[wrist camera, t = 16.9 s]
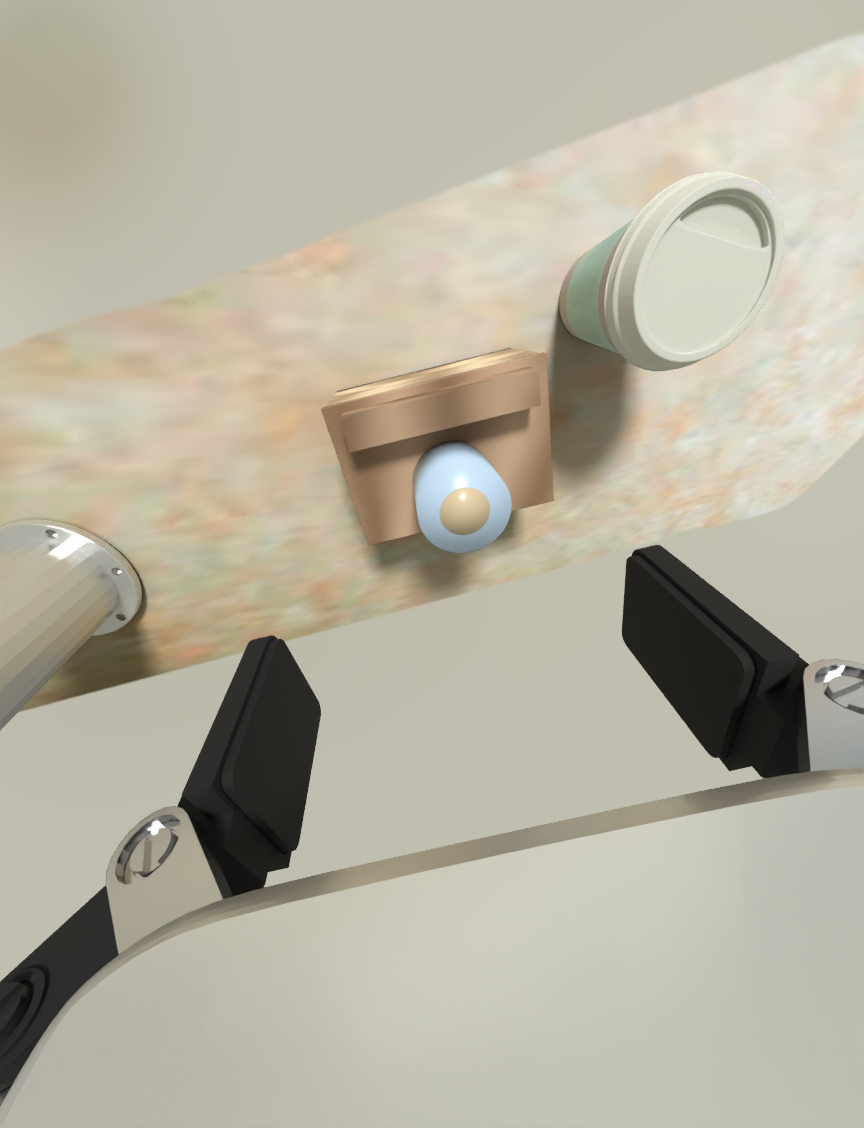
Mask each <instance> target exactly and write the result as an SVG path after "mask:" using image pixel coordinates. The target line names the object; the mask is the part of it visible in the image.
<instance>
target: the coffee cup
mask: <svg viewBox="0 0 864 1128" xmlns="http://www.w3.org/2000/svg"><path fill="white" fill-rule="evenodd" d="M783 247H784V224H783V218H782V214H781V211H780V208H779V205H778V203H777V201H776V199H775V198H774V196H773V194H772V193H771V192H770V191H769V189H768V188H766V187H765V186H764V185H763V184H762V183H760V182H758V181H756V180H754V179H752V178H748V177H745V176H740V175H737V174H734V173H731V172H724V171H715V172H708V173H700V174H696V175H692V176H689V177H686V178H683V179H681V180H679V181H677V182H675V183H673V184H672V185H670V186H668V187H667V188H665V189H664V190H663V191H661V192H660V193H659V194H658V195H656V196H655V197H654V198H653V199H652V200H651V201H650V202H649V203H648V204H647V205H646V206H645V207H644V208H643V209H642V210H641V211H640V213H639V214H638V215H637V216H636V218H634V219H633V220H632V221H630V222H629V223H627V224H626V225H625V226H623V227H622V228H620V229H619V230H618V231H616V232H615V233H613V234H612V235H611V236H609V237H608V238H606V239H605V240H604V241H602V242H601V243H599V244H598V245H597V246H595V247H594V248H593V249H591V250H590V251H588V252H587V253H586V254H584V255H583V256H582V257H581V258H579V259H578V260H577V261H576V262H575V264H574V265H573V266H572V267H571V269H570V270H569V272H568V274H567V275H566V277H565V280H564V282H563V285H562V288H561V292H560V299H559V309H560V315H561V319H562V321H563V324H564V326H565V327H566V329H567V330H568V331H569V332H570V333H571V334H572V335H573V336H575V337H576V338H579V339H581V340H584V341H586V342H589V343H591V344H594V345H596V346H599V347H602V348H604V349H607V350H609V351H612V352H615V353H617V354H620V355H622V356H623V357H624V358H625V359H626V360H627V361H628V362H630V363H631V364H633V365H635V366H637V367H639V368H642V369H645V370H650V371H666V370H672V369H678V368H682V367H686V366H688V365H691V364H693V363H696V362H698V361H700V360H702V359H703V358H706V357H708V356H711V355H713V354H715V353H716V352H718V351H720V350H721V349H723V348H724V347H726V346H727V345H729V344H730V343H731V342H732V341H733V340H735V339H736V338H737V337H738V336H739V335H740V334H741V333H742V332H743V331H744V330H745V329H746V328H747V327H748V325H749V324H750V323H751V322H752V321H753V319H754V318H755V317H756V315H757V314H758V313H759V311H760V310H761V308H762V306H763V305H764V303H765V301H766V300H767V298H768V296H769V294H770V292H771V290H772V287H773V285H774V283H775V280H776V277H777V274H778V271H779V268H780V264H781V260H782V254H783Z"/></svg>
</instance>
